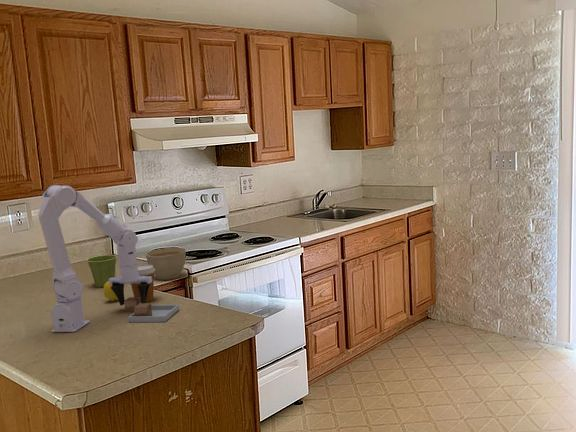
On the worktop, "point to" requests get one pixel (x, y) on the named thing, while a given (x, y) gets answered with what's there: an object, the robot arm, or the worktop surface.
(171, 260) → the planter bowl
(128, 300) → the walnut block
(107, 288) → the lemon
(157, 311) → the tray
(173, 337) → the worktop surface
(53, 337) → the worktop surface
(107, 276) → the plant pot
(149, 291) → the disposable coffee cup
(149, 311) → the walnut block
